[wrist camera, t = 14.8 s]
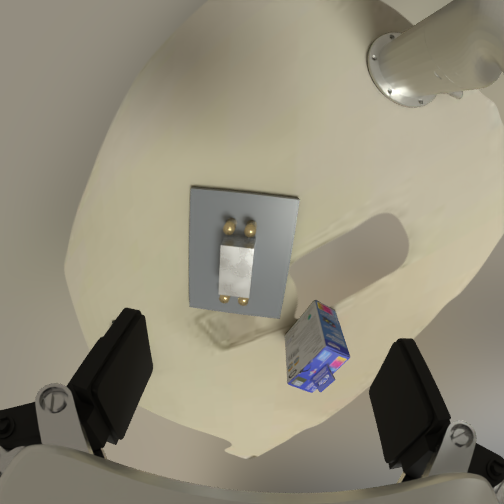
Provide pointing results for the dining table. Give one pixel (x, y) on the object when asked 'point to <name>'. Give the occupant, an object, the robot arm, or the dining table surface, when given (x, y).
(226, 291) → the block
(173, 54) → the dining table surface
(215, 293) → the pin tray
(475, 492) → the robot arm
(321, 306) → the ink cartridge box
